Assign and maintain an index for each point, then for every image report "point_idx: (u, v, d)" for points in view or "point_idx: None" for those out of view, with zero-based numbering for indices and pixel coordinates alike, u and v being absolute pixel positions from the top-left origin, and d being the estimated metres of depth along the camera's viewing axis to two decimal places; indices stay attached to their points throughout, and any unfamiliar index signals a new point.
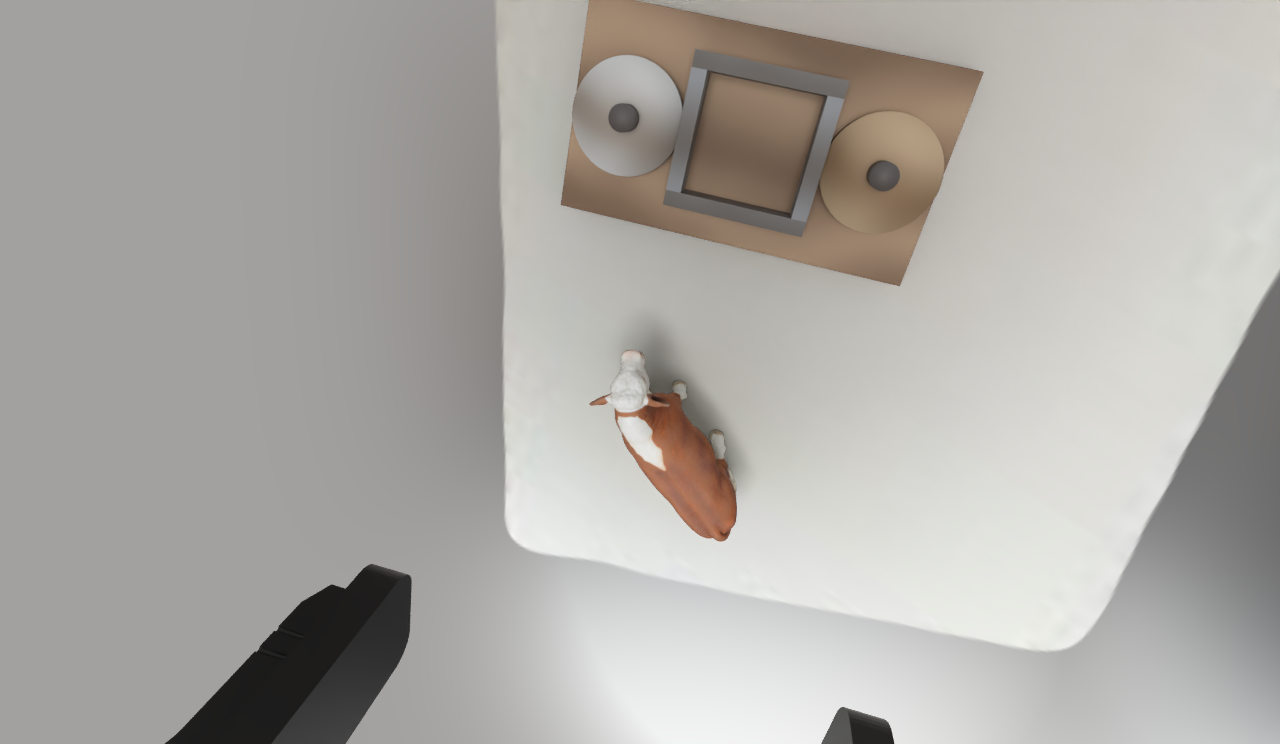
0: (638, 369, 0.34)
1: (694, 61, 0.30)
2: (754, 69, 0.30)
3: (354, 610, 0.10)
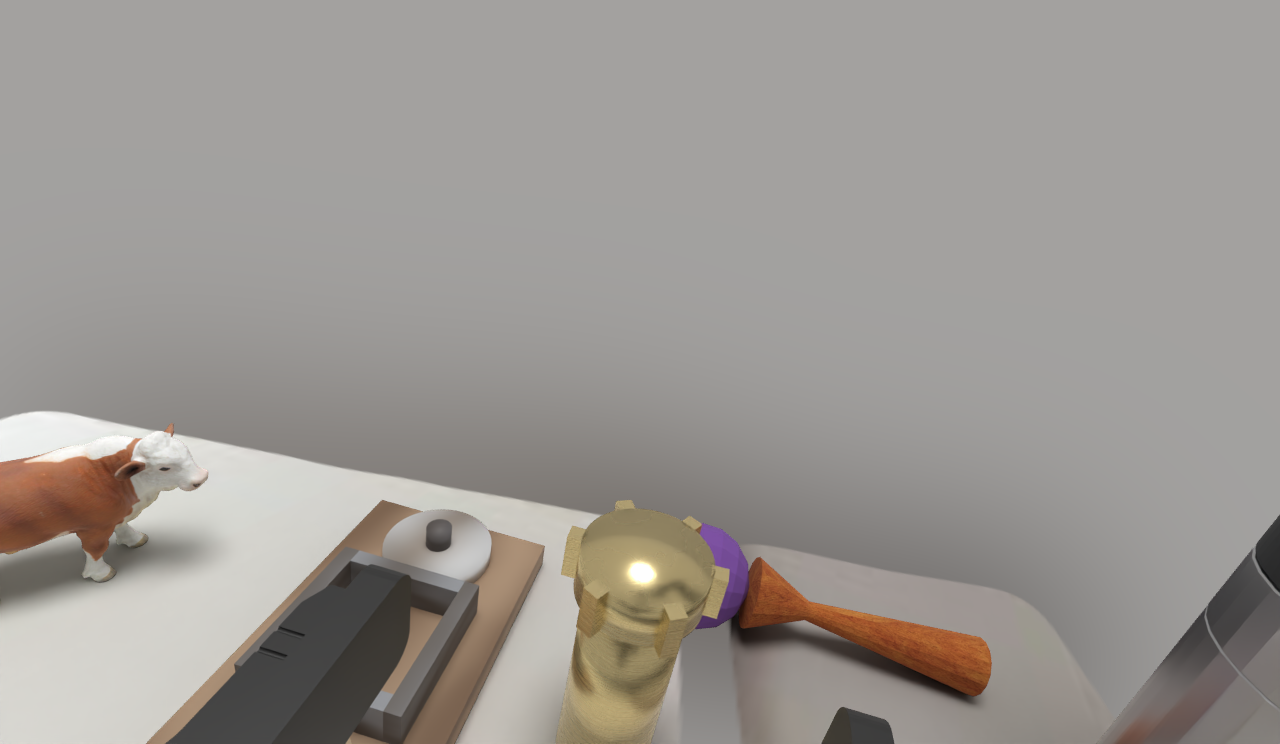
0: (180, 470, 0.31)
1: (468, 583, 0.32)
2: (445, 628, 0.29)
3: (354, 610, 0.10)
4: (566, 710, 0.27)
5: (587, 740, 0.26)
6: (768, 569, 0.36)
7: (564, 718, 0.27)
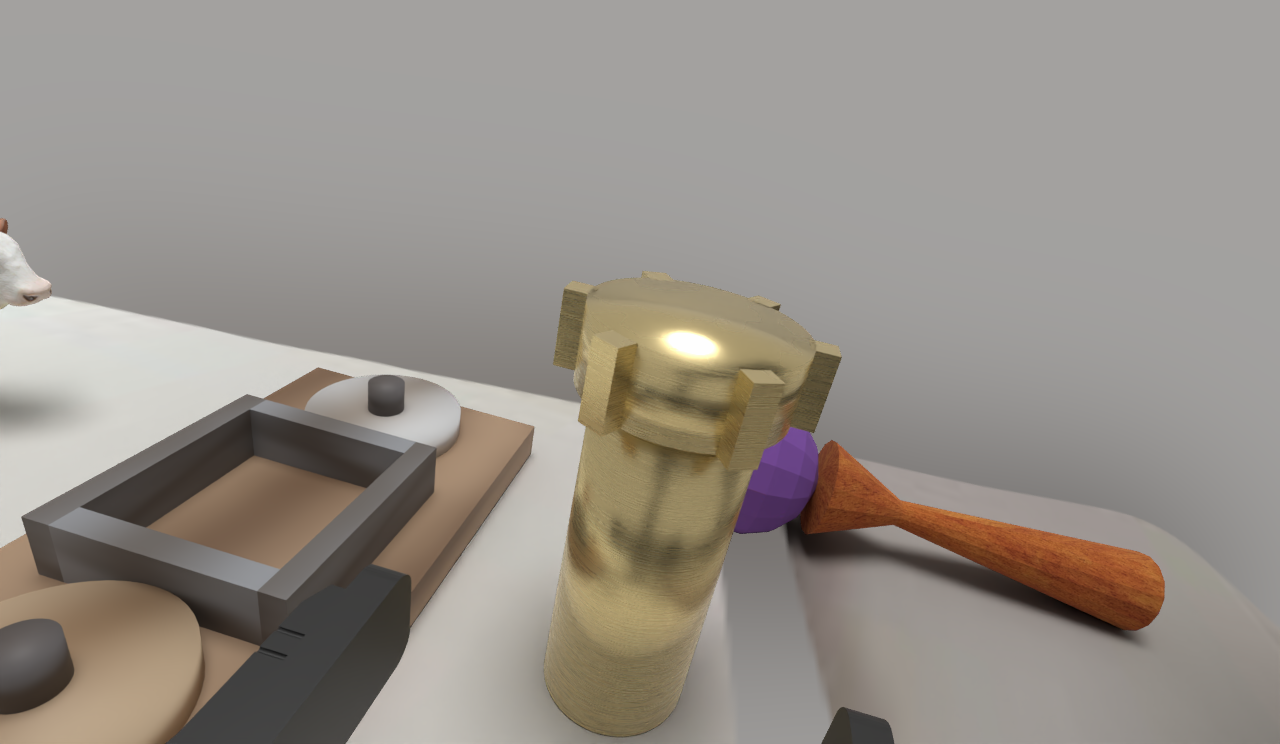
0: (2, 272, 0.22)
1: (421, 444, 0.22)
2: (378, 492, 0.19)
3: (354, 610, 0.10)
4: (560, 605, 0.17)
5: (593, 649, 0.16)
6: (846, 452, 0.26)
7: (557, 620, 0.17)
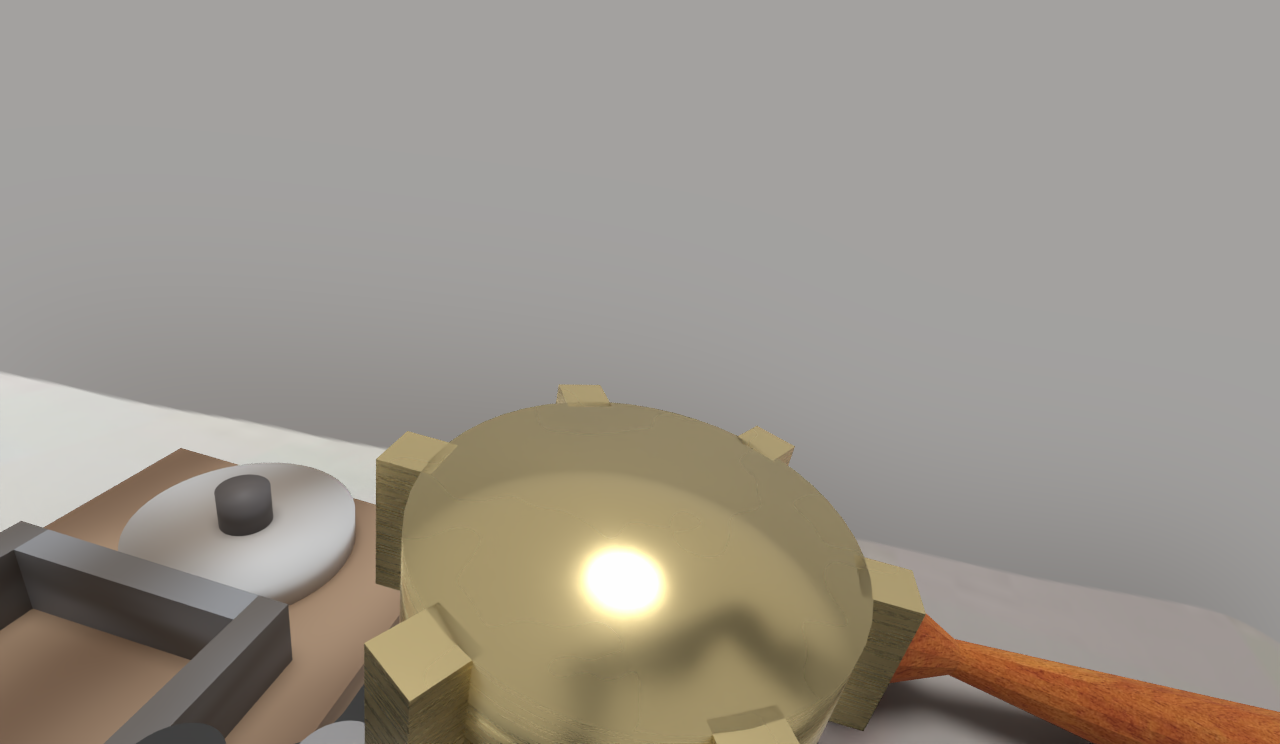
0: None
1: (265, 600, 0.15)
2: (165, 709, 0.12)
3: None
4: None
5: None
6: None
7: None
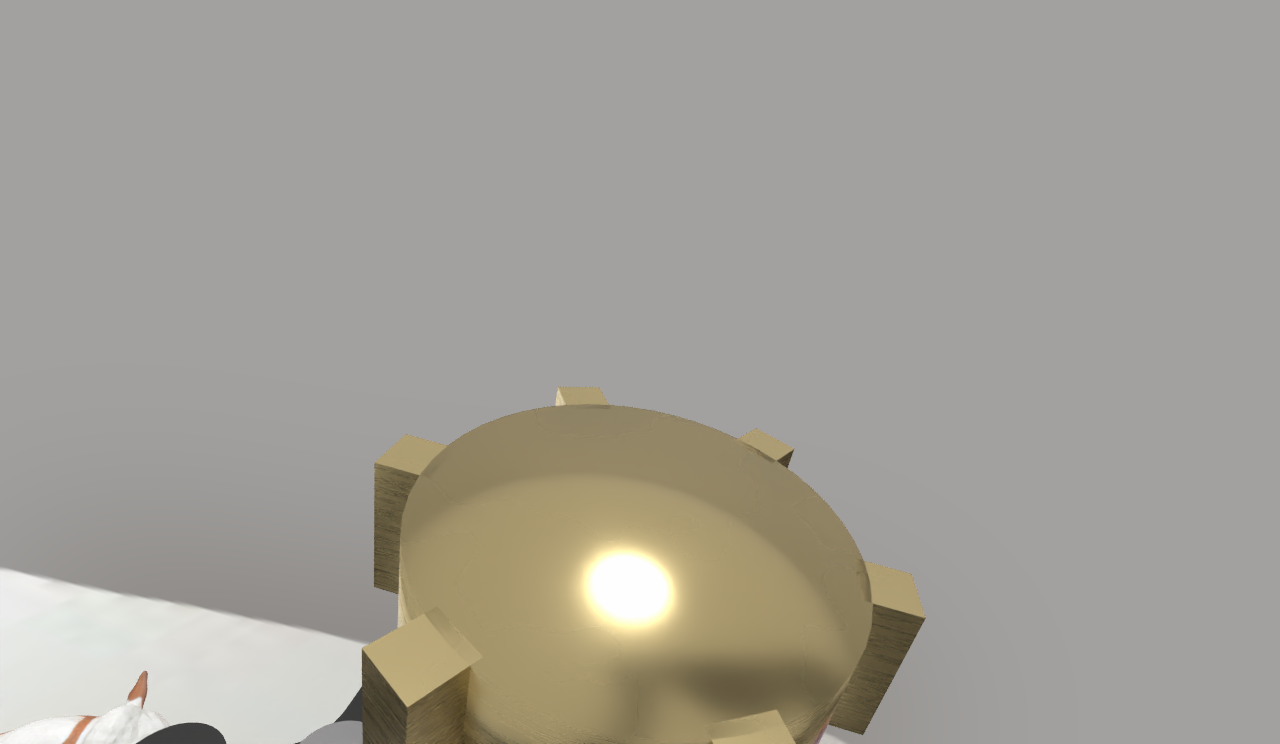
0: None
1: None
2: None
3: None
4: None
5: None
6: None
7: None
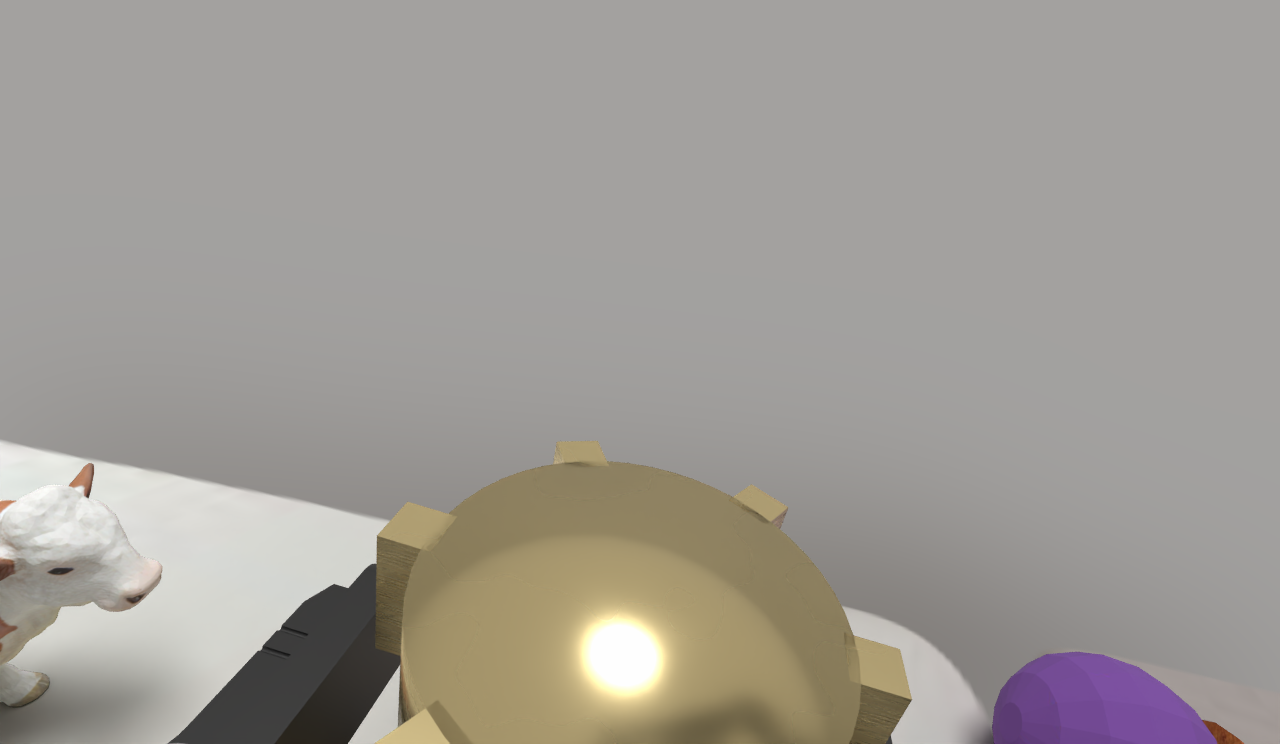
0: (98, 570, 0.14)
1: None
2: None
3: (357, 610, 0.10)
4: None
5: None
6: None
7: None
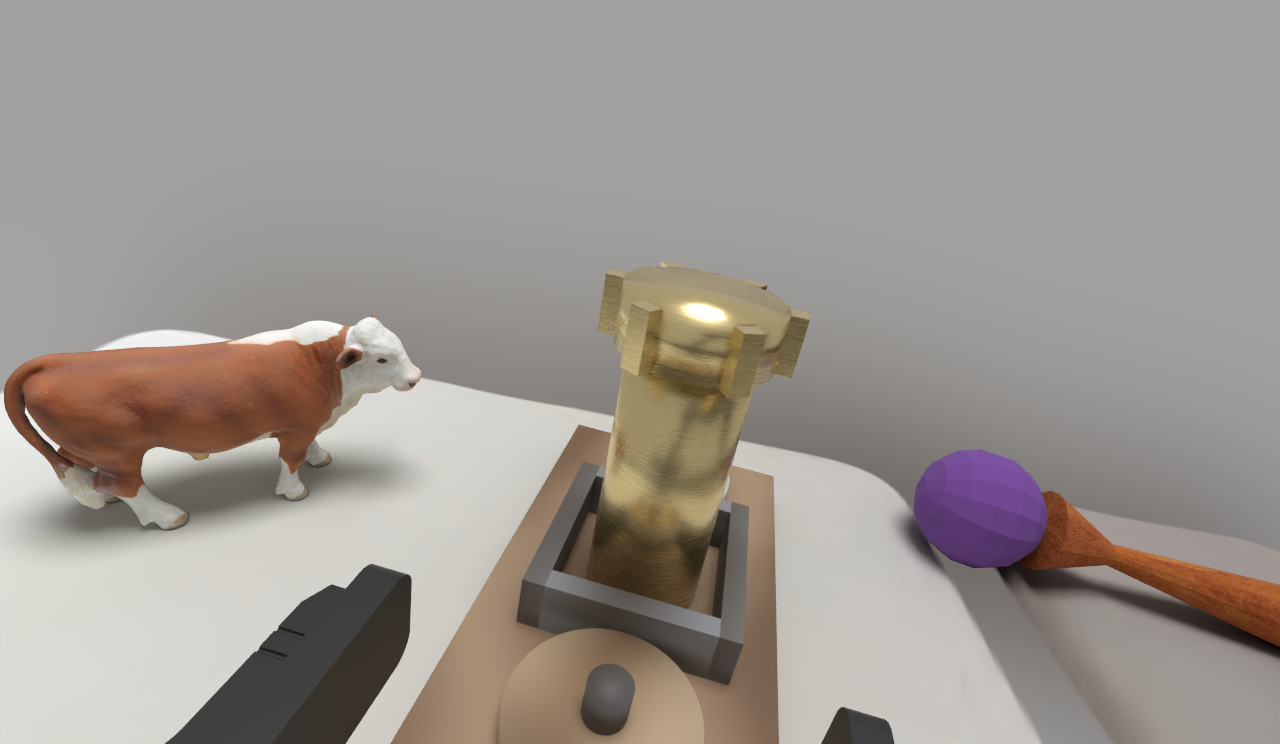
0: (396, 365, 0.26)
1: (736, 504, 0.27)
2: (738, 549, 0.24)
3: (354, 610, 0.10)
4: (601, 520, 0.22)
5: (629, 548, 0.21)
6: (1068, 503, 0.31)
7: (598, 532, 0.22)
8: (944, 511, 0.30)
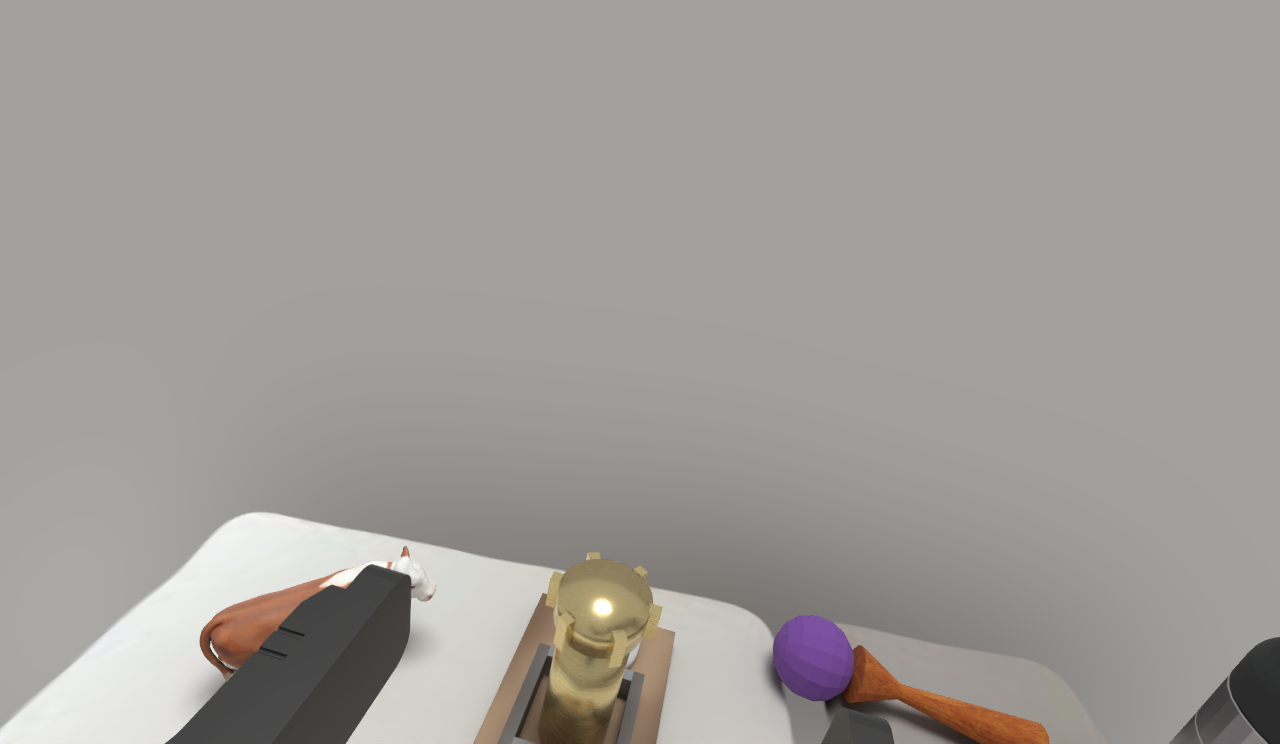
0: (421, 587, 0.41)
1: (637, 673, 0.42)
2: (631, 712, 0.39)
3: (354, 610, 0.10)
4: (546, 702, 0.37)
5: (560, 724, 0.36)
6: (870, 657, 0.46)
7: (544, 708, 0.38)
8: (784, 663, 0.45)
